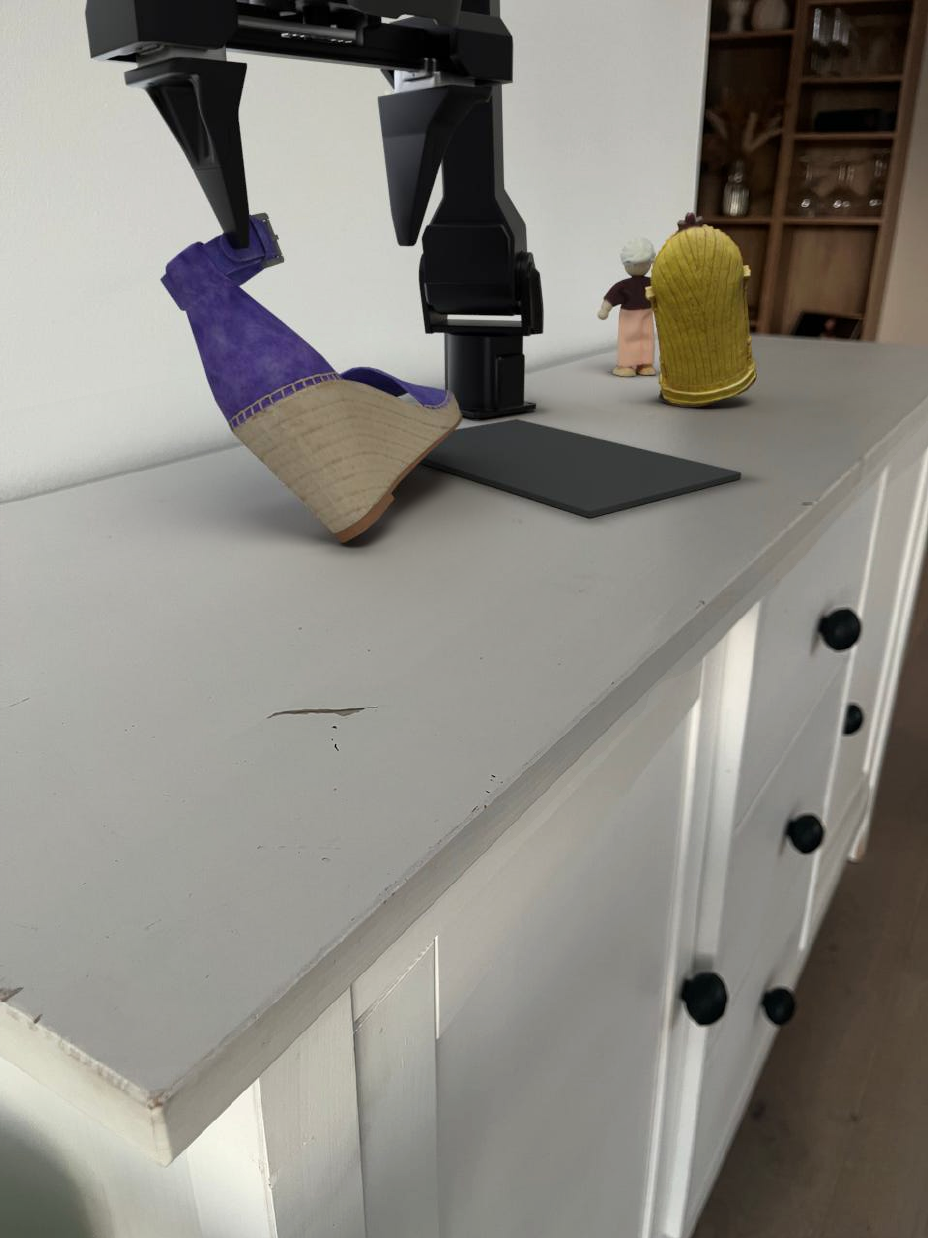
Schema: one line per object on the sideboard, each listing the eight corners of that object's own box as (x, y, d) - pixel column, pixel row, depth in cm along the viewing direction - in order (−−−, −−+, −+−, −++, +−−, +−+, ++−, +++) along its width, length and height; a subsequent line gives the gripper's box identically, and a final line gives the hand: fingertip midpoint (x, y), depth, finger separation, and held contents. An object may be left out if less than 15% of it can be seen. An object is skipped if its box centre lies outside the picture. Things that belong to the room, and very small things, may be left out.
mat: (375, 448, 67) (375, 442, 67) (516, 423, 75) (516, 418, 74) (589, 518, 52) (590, 511, 52) (740, 478, 59) (741, 472, 59)
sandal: (496, 382, 61) (362, 160, 56) (390, 524, 45) (190, 232, 40) (397, 437, 65) (264, 234, 60) (268, 585, 49) (73, 327, 44)
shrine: (725, 423, 75) (747, 211, 69) (626, 413, 78) (638, 212, 72) (763, 398, 84) (784, 210, 78) (672, 391, 88) (686, 210, 82)
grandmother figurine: (651, 368, 100) (659, 236, 95) (673, 373, 96) (684, 236, 91) (587, 374, 97) (592, 237, 92) (608, 379, 93) (615, 238, 88)
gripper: (175, -303, 29) (225, 256, 35) (606, -160, 40) (588, 247, 46) (53, -189, 37) (110, 250, 43) (439, -96, 48) (443, 243, 54)
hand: (328, 247), depth 46 cm, fingers open, 9 cm apart
